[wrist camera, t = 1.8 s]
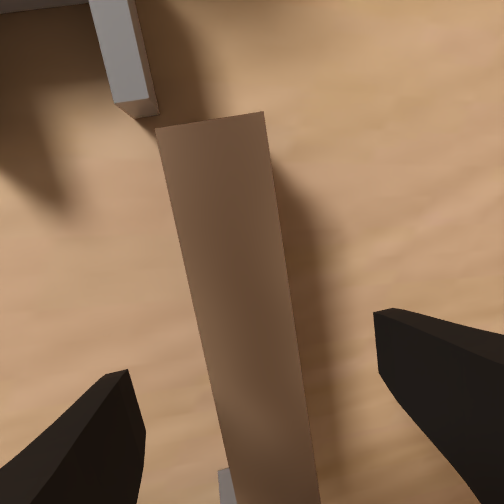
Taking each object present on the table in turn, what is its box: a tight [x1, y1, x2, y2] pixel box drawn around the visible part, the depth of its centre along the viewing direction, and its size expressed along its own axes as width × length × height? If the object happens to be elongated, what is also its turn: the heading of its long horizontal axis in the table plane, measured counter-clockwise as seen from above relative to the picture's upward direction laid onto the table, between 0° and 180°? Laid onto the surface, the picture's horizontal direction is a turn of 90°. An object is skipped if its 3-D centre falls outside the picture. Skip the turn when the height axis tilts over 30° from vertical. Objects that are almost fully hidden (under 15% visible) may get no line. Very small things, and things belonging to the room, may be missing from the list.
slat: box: [154, 111, 321, 504], centre depth 14 cm, size 3×14×5 cm, turn 9°
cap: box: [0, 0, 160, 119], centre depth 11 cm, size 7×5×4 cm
